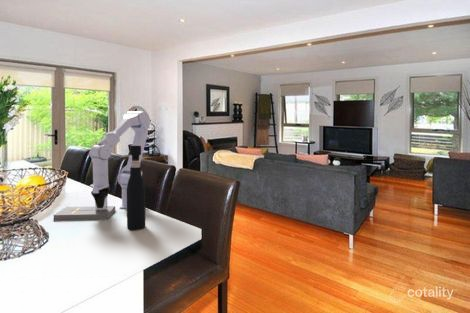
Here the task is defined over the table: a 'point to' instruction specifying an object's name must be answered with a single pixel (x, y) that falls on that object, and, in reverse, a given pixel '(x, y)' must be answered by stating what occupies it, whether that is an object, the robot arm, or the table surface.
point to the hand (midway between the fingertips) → (101, 206)
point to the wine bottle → (135, 193)
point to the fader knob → (103, 205)
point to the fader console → (83, 213)
